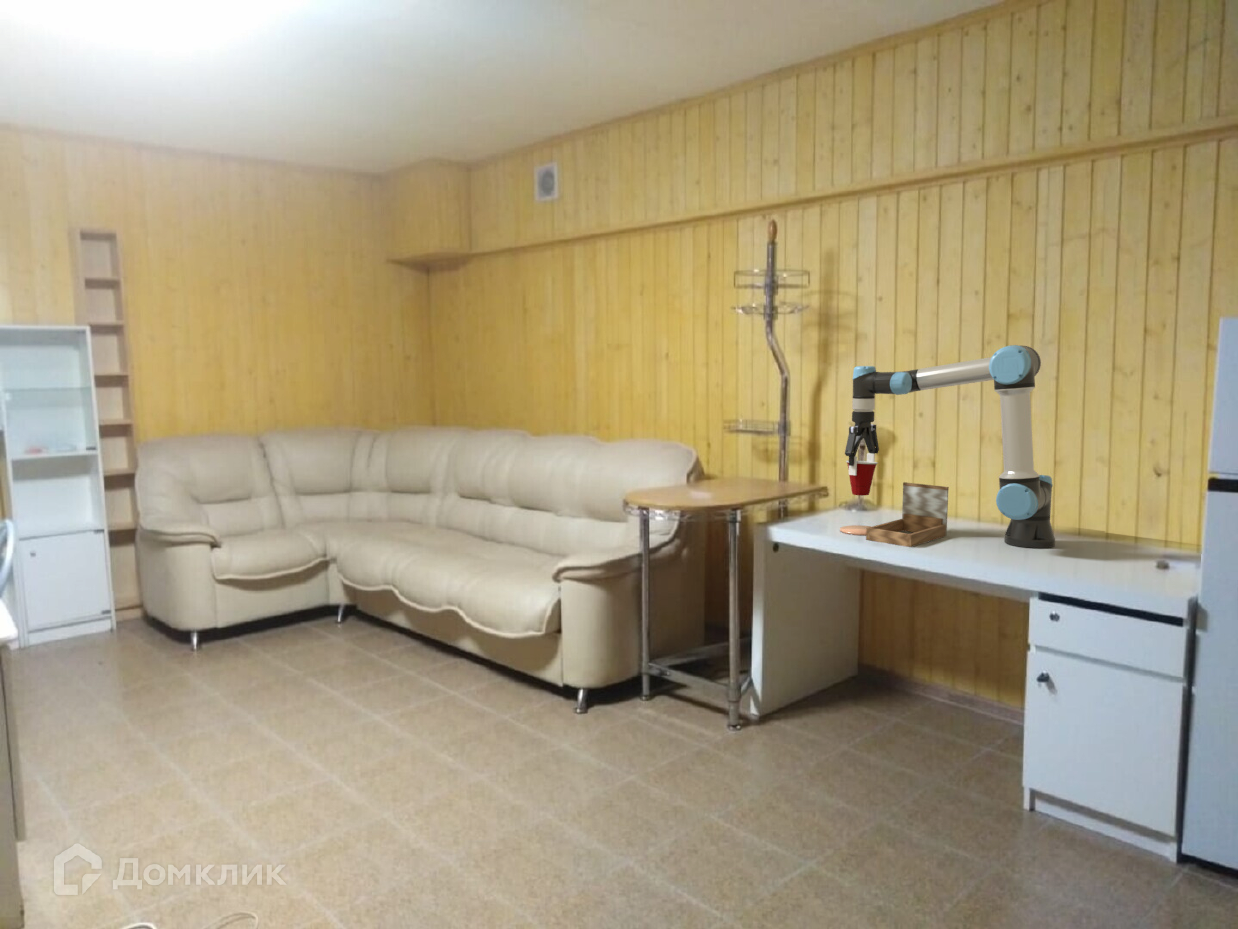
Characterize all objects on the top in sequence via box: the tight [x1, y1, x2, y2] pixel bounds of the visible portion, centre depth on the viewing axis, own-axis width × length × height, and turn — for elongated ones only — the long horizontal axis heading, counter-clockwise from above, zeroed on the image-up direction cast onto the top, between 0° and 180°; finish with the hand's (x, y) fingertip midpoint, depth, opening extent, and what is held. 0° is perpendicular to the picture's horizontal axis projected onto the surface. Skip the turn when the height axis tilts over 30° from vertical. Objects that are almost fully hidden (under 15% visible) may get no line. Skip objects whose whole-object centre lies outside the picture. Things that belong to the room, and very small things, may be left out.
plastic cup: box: [845, 459, 879, 496], centre depth 310 cm, size 11×11×12 cm
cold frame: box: [865, 481, 949, 548], centre depth 300 cm, size 16×24×17 cm
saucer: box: [839, 524, 872, 537], centre depth 312 cm, size 14×14×1 cm
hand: (861, 473), depth 310 cm, fingers closed on plastic cup, 11 cm apart
